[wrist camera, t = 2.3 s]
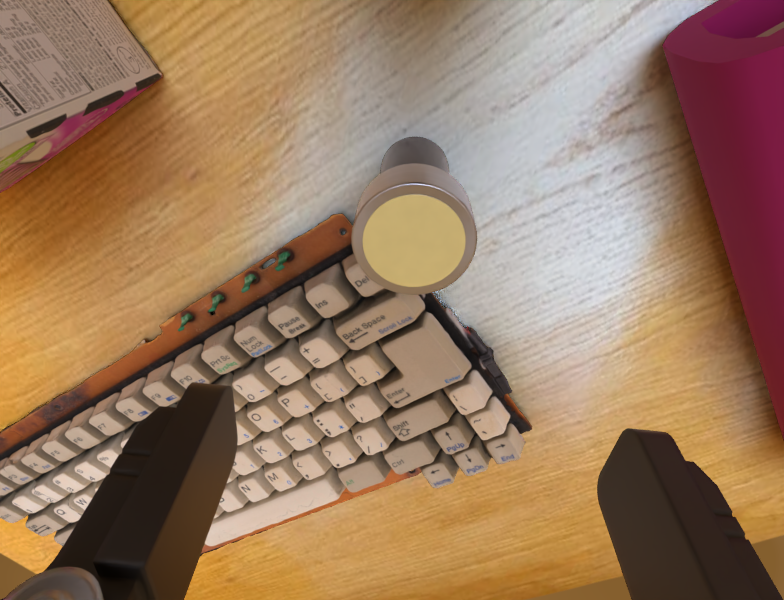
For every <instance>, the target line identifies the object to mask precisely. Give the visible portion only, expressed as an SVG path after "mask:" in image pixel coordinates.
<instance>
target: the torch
mask: <svg viewBox="0 0 784 600" xmlns="http://www.w3.org/2000/svg"><path fill="white" fill-rule="evenodd" d="M351 239H352V248H353V252H354V255H355V258H356V260H357V262H358V264H359V266H360V267H361V269H362V270H363V272H364V273H365V274H366V275H367V276H368V277H369V278H370V279H371V280H373V281H374V282H375V283H377V284H378V285H380V286H382V287H383V288H385V289H388V290H390V291H393V292H397V293H401V294H408V295H420V294H427V293H432V292H435V291H438V290H440V289H443V288H445V287H447V286H448V285H450V284H452V283H453V282H454V281H456V280H457V279H458V278H459V277H460V276H461V275H462V274H463V273H464V272H465V270H466V269H467V268H468V266H469V265H470V263H471V261H472V259H473V256H474V254H475V250H476V245H477V231H476V225H475V221H474V216H473V212H472V208H471V204H470V201H469V198H468V195H467V193H466V191H465V190H464V188H463V187H462V186H461V184H460V183H459V182H458V181H457V180H456V179H455V178H454V177H453V176H451V175H450V173H449V167H448V161H447V158H446V156H445V154H444V152H443V151H442V149H441V148H440V147H439V146H438V145H437V144H435V143H434V142H432V141H431V140H428V139H426V138H422V137H408V138H404V139H402V140H399V141H398V142H396V143H395V144H393V145H392V146H391V147H390V148H389V149H388V151H387V152H386V154H385V155H384V158H383V160H382V164H381V170H380V175H378V176H377V177H375V178H374V179H373V180H372V181H371V182H370V183H369V185H368V186H367V187H366V189H365V190H364V192H363V194H362V196H361V198H360V200H359V204H358V208H357V212H356V216H355V220H354V224H353V228H352V236H351Z"/></svg>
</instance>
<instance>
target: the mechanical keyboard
mask: <svg viewBox="0 0 784 600" xmlns="http://www.w3.org/2000/svg"><path fill="white" fill-rule="evenodd" d="M352 228H353V226H352V224H351V223H350V222H349V221H348V219H347V218H346V217H345V216H344V215H343V214H334V215H331V216H330V218H329V219H328V220H325V221H324V222H322V223H319V224H318V226H316V227H315V228H313V229H311V230H309V231H308V232H307V233H305V234H303V235H301V236H298V237H297V238H295V239H293V240H291V241H290V242H289V243H287V244H286V245H285V246H283V247H282V248H280V249H278V250H277V251H275V252H274V253H272V254H271V255H269V256H267V257H266V258H264V259H263V260H261V261H260V262H258V263H257V264H255V265H253V266H252V267H250V268H248V269H247V270H245V271H244V272H242V273H241V274H239V275H237V276H236V277H234V278H233V279H231V280H229V281H228V282H226V283H225V284H223V285H222V286H220V287H218V288H217V289H215V290H214V291H212V292H211V293H209V294H208V295H206V296H205V297H203V298H201V299H199V300H198V301H196V302H195V303H193V304H191V305H190V306H189V307H187V308H186V309H184V310H183V311H181V312H179V313H178V314H176V315H175V316H173V317H171V318H169V319H168V320H167V321H166V322H164V323H163V324H161V325H160V326H159V327H160V328H161V329H162V333H161V335H158V336H157V338H156V339H154V340H153V341H151V342H147V343H146V341H145V340H142V341H141V343H140V344H138V346H137V347H135V348H134V350H133V351H132V352H131V353H129V354H128V355H126V356H125V357H123V358H122V359H120V360H118V361H117V362H116V363H114V364H112V365H110V366H109V367H107V368H105V369H104V370H101V371H99V372H98V373H96V374H95V375H94V376H91V377H89V378H88V379H86V380H85V381H84V383H83V384H80V385H78V386H77V387H76V388H75V389H72V390H71V391H69V392H67V393H64V394H62V395H59V396H58V397H56V398H54V399H53V400H52V401H51V402H50V403H48V404H45V405H43V406H42V407H38V408H37V409H35V410H33V411H32V412H31V413H30V414H29V415H28V416H27V417H24V418H23V419H21V420H20V421H18V422H16V423H14V424H13V425H11V426H8V427H6V428H5V429H4V430H3V431H2V432H1V433H0V518H2V519H4V520H5V521H7V522H9V523H14V522H17V521H19V520H21V519H23V518H25V517H26V516H27V515H28V520H27V522H26V527H27V528H28V529H30V530H31V531H33V532H35V533H37V534H38V535H40V536H47V535H49V534H51V533H53V532H55V531H57V532H56V535H55V537H54V540H55V541H56V542H57V543H59V544H60V545H62V546H64V544H65V542H66V541H67V539H68V537H69V536H70V534H71V532H72V531H73V529H74V528H75V526H76V524H77V523H78V521H79V519H80V518H81V516H82V514H83V513H84V511H85V509H86V508H87V506H88V505H89V503H90V501H91V500H92V498H93V496H94V495H95V493H96V491H97V490H98V488H99V487H100V485H101V483H102V482H103V480H104V478H105V477H106V475H109V473H110V468H111V467H112V465H113V464H114V462H115V460H116V459H117V457H118V455H119V454H121V453H122V449H123V447H124V446H125V444H126V442H127V441H128V439H129V437H130V436H131V434H132V432H133V431H134V429H135V428H136V426H137V425H138V424H139V423H140V422H141V421H143V420H144V419H145V418H146V417H147V416H149V415H150V414H151V413H152V412H153V411H155V410H156V409H157V408H158V407H159V406H165V407H175V408H176V407H177V405H178V403H179V402H180V400H181V398H182V396H183V394H184V392H185V391H186V389H187V387H188V386H189V385H190V384H191V383H192V382H197V383H207V384H216V385H226V386H231V387H232V390H233V397H234V406H235V416H236V425H237V435H238V442H237V451H236V456H235V461H234V464H233V467H232V470H231V473H230V476H229V478H228V481H227V484H226V486H225V489H224V492H223V495H222V497H221V500H220V503H219V505H218V508H217V511H216V514H215V516H214V519H213V522H212V524H211V527H210V530H209V533H208V535H207V538H206V541H205V544H204V546H203V549H202V552H201V554H200V556H201V555H202V554H203V553H207V552H210V551H213V550H216V549H218V548H220V547H223V546H224V545H226V544H229V543H234V542H237V541H239V540H241V539H244V538H245V537H248V536H252V535H255V534H258V533H261V532H263V531H266V530H268V529H271V528H273V527H275V526H278V525H281V524H284V523H287V522H289V521H292V520H295V519H298V518H300V517H303V516H306V515H309V514H311V513H314V512H318V511H320V510H322V509H325V508H328V507H332V506H334V505H336V504H338V503H342V502H344V501H347V500H350V499H352V498H354V497H357V496H360V495H363V494H366V493H368V492H372V491H374V490H377V489H379V488H382V487H386V486H388V485H390V484H393V483H395V482H399V481H401V480H404V479H407V478H410V477H413V476H416V475H418V474H419V473H421V472H422V473H423V475H424V476H425V478H426V479H427V480H428V482H429V483H430V485H431V486H432V487H433V488H440V487H442V486H445V485H448V484H451V483H453V482H454V479H455V476H456V474H457V471H458V469H459V467H460V469H461V470H462V471H463V472H464V474H465V475H467V476H472V475H474V474H477V473H480V472H483V471H485V470H487V468H488V464H489V461H490V459H491V458H493V459H494V460H495V462H496V463H497V464H504V463H506V462H510V461H514V460H518V459H520V456H521V453H522V450H523V446H524V444H525V443H526V442H525V440H524V439H523V437H522V436H521V434H522V433H524V432H526V431H530V430H531V429H532V426H531V425H530V423H529V422H528V421H527V419H526V418H525V417H524V415H523V414H522V413H521V412H520V411H519V409H518V407H517V406H516V405H515V403H514V402H513V401H512V399H511V398H510V397H509V395H508V393H511V392H512V390H511V388H510V387H509V384H508V381H507V379H506V378H505V376H504V375H503V374H502V372H501V371H500V369H499V368H498V366H497V365H496V363H495V361H494V358H493V356H492V354H493V350H492V349H491V348H488V347H486V346H485V345H484V344H483V342H482V340H481V339H480V337H479V336H478V335H477V333H476V332H475V330H474V329H472V328H470V331H469V330H468V326H467V328H466V329H465V328H463V326H462V325H461V323H460V322H458V319H457V317H456V316H455V315H453V313H452V311H451V310H450V309H449V308H448V307H446V308H443V307H442V305H441V304H440V302H439V301H438V300H437V299H436V297H435V296H434V295H433V293H427V294H420V295H408V294H401V293H397V292H393V291H390V290H388V289H385V288H383V287H382V286H380V285H378V284H377V283H375V282H374V281H373V280H371V279H370V278H369V277H368V276H367V275H366V274H365V273H364V272H363V270H362V269H361V267H360V266H359V264H358V262H357V260H356V258H355V255H354V252H353V248H352V239H351V236H352ZM343 230H344V231H345V234H344V235H341V231H343ZM272 258H275V259H276V262H275V263H274V264H272V265H270V266H268V267H267V268H265V269H263V268H262V265H263V264H264V263H265V262H266V261H268V260H270V259H272ZM213 311H214V312H215V314H214V315H211V314H210V312H213ZM451 314H452V315H451ZM413 469H414V471H411V470H413Z"/></svg>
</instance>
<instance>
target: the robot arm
mask: <svg viewBox="0 0 784 600" xmlns="http://www.w3.org/2000/svg"><path fill="white" fill-rule="evenodd" d="M237 442H238V435H237V425H236V416H235V406H234V397H233V390H232V387H231V386H226V385H216V384H207V383H197V382H192V383H191V384H190V385H189V386H188V387H187V389H186V391H185V392H184V394H183V396H182V398H181V400H180V402H179V403H178V405H177V407H176V408H175V407H165V406H159V407H158V408H157V409H156V410H155V411H153V412H152V413H151V414H150V415H149V416H147V417H146V418H145V419H144V420H143V421H141V422H140V423H139V424H138V425H137V426H136V428H135V429H134V431H133V432H132V434H131V436H130V437H129V439H128V441H127V442H126V444H125V446H124V447H123V449H122V453H121V454H119V455H118V457H117V459H116V460H115V462H114V464H113V465H112V467H111V468H110V473H109V475H106V477H105V478H104V480H103V482H102V483H101V485H100V487H99V488H98V490H97V491H96V493H95V495H94V496H93V498H92V500H91V501H90V503H89V505H88V506H87V508H86V509H85V511H84V513H83V514H82V516H81V518H80V519H79V521H78V523H77V524H76V526H75V528H74V529H73V531H72V532H71V534H70V536H69V537H68V539H67V541H66V542H65V544H64V546H63V547H62V549H61V550H60V552H59V554H58V555H57V556H56V558H55V559H54V561H53V562H52V563H51V564H50V565H49V566H48V568H47V569H46V570H45V571H44V572H42V573H39V574H37V575H35V576H33V577H31V578H30V579H28V580H26V581H25V582H23V583H22V584H20V585H19V586H18V587H16V588H15V589H14V590H13V591H11V592H10V593H9V594H8V595H7V596H6V597H5V598H4V599H1V600H184V598H185V595H186V592H187V590H188V587H189V584H190V582H191V579H192V576H193V573H194V571H195V568H196V565H197V563H198V560H199V557H200V554H201V552H202V549H203V546H204V544H205V541H206V538H207V535H208V533H209V530H210V527H211V524H212V522H213V519H214V516H215V514H216V511H217V508H218V505H219V503H220V500H221V497H222V495H223V492H224V489H225V486H226V484H227V481H228V478H229V476H230V473H231V470H232V467H233V464H234V461H235V456H236V451H237ZM597 493H598V501H599V505H600V508H601V511H602V514H603V517H604V520H605V523H606V526H607V528H608V531H609V534H610V537H611V540H612V543H613V546H614V549H615V552H616V555H617V558H618V561H619V564H620V567H621V570H622V573H623V576H624V578H625V581H626V584H627V587H628V590H629V593H630V596H631V599H632V600H783V599H782V597H781V595H780V593H779V592H778V590H777V588H776V587H775V585H774V583H773V581H772V580H771V578H770V576H769V574H768V573H767V571H766V569H765V568H764V566H763V564H762V562H761V561H760V559H759V557H758V555H757V554H756V552H755V550H754V549H753V547H752V545H751V543H750V542H749V540H746V539H745V533H744V531H743V530H742V528H741V526H740V524H739V523H738V521H737V519H736V517H733V516H732V511H731V509H730V507H729V505H728V504H727V502H726V500H725V498H724V497H723V495H722V493H721V492H720V490H719V488H718V486H717V485H716V484H715V483H714V482H713V481H712V480H711V479H710V478H709V477H708V476H707V475H706V474H705V473H704V472H703V471H702V470H701V469H700V468H699V467H698V466H697V465H696V464H695V463H694V462H689V461H685V459H684V458H683V456H682V454H681V452H680V450H679V448H678V446H677V445H676V443H675V441H674V439H673V438H672V437H671V436H670V435H669V434H668V433H666V432H658V431H649V430H639V429H629V428H628V429H625V430H624V431H623V432H622V434H621V435H620V437H619V439H618V441H617V443H616V445H615V446H614V448H613V450H612V452H611V454H610V456H609V458H608V459H607V461H606V463H605V465H604V467H603V469H602V471H601V473H600V475H599V478H598V485H597Z"/></svg>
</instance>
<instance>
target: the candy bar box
mask: <svg viewBox="0 0 784 600" xmlns="http://www.w3.org/2000/svg"><path fill="white" fill-rule="evenodd" d="M162 76H163V75H162V73H161V72H160V70H159V69H158V67H157V66H156V64H155V63H154V61H153V60H152V58H151V57H150V55H149V54H148V53H147V51H146V50H145V49H144V47H143V46H142V45H141V44H140V43H139V42H138V40H137V39H136V38H135V37H134V36H133V34H132V33H131V32H130V30H129V29H128V28H127V26H126V25H125V24H124V22H123V21H122V19H121V18H120V16H119V15H118V13H117V12H116V10H115V9H114V8H113V6H112V5H111V3H110V2H109V1H108V0H0V193H1V192H2V191H4V190H7V189H8V188H10V187H11V186H12V185H14V184H15V183H17V182H18V181H20V180H21V179H23V178H24V177H25V176H27V175H28V174H30V173H31V172H33V171H34V170H36V169H37V168H39V167H40V166H41V165H43V164H44V163H46V162H47V161H48V160H50V159H51V158H53V157H54V156H55V155H57V154H58V153H60V152H61V151H62V150H64V149H65V148H67V147H68V146H69V145H71V144H72V143H74V142H75V141H76V140H78V139H79V138H81V137H82V136H83V135H85V134H86V133H87V132H89V131H90V130H92V129H93V128H94V127H96V126H97V125H98V124H100V123H101V122H103V121H104V120H105V119H107V118H108V117H109V116H111V115H112V114H113V113H115V112H116V111H117V110H119V109H120V108H121V107H123V106H124V105H125V104H127V103H128V102H130V101H131V100H132V99H133V98H135V97H136V96H137V95H139V94H140V93H142V92H143V91H144V90H146V89H147V88H148V87H150V86H151V85H153V84H154V83H155V82H157V81H158V80H159V79H161V78H162Z"/></svg>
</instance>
